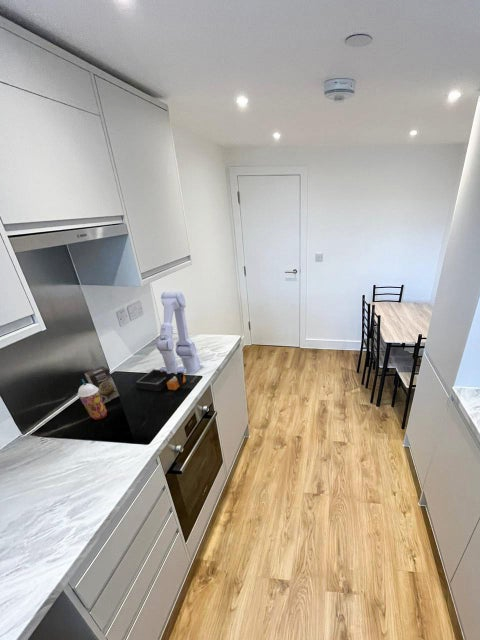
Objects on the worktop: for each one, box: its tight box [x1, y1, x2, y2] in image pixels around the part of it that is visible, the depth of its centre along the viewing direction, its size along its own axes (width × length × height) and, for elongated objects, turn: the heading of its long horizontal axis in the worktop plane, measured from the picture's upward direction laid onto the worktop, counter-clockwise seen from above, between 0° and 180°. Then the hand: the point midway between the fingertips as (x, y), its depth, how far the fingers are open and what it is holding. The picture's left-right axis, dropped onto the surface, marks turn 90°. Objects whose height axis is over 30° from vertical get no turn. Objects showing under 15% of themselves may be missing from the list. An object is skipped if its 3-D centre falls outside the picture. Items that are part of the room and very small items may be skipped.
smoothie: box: [77, 378, 108, 421], centre depth 146 cm, size 8×8×20 cm
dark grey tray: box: [135, 368, 176, 392], centre depth 174 cm, size 15×14×4 cm
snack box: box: [166, 375, 187, 391], centre depth 171 cm, size 10×4×4 cm, turn 164°
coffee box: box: [84, 365, 120, 405], centre depth 160 cm, size 9×6×16 cm
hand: (177, 384), depth 172 cm, fingers open, 5 cm apart
